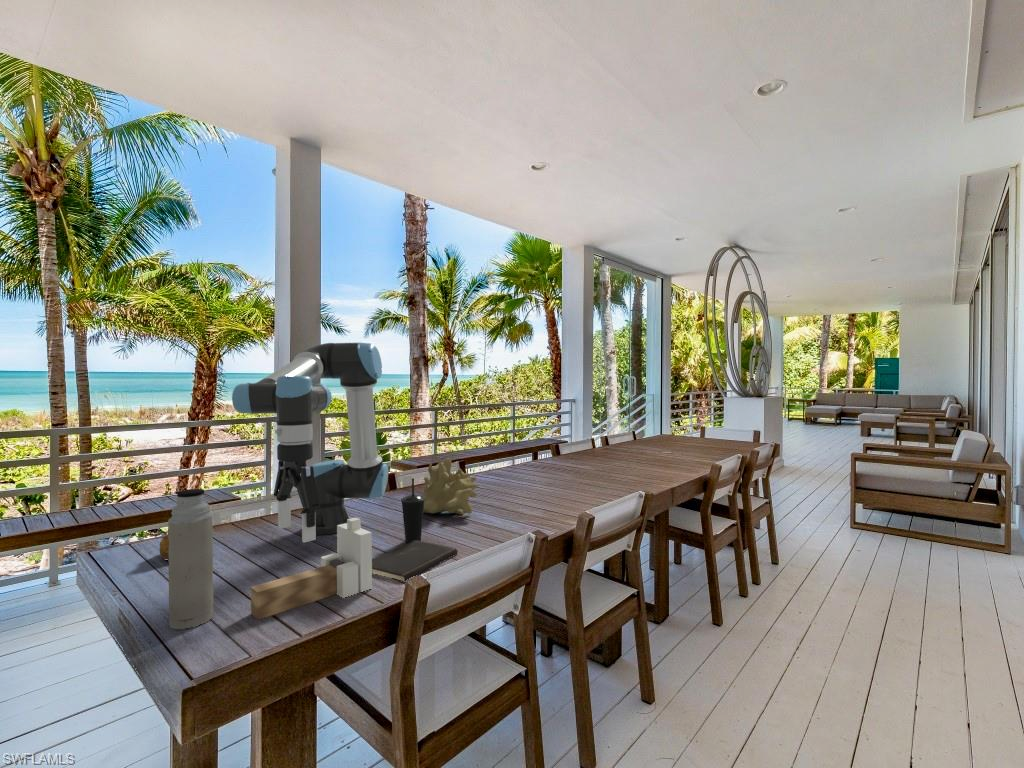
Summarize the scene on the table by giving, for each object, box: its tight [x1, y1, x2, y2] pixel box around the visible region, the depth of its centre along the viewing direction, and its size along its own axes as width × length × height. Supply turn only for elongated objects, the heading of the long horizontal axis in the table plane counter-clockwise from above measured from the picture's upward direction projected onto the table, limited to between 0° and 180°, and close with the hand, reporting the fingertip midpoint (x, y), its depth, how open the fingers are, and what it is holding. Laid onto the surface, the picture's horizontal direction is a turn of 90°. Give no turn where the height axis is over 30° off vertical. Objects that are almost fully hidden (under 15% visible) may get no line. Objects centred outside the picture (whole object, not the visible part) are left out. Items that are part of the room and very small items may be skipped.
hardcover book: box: [372, 540, 458, 581], centre depth 140 cm, size 16×23×2 cm
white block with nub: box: [320, 517, 373, 599], centre depth 123 cm, size 12×8×16 cm, turn 46°
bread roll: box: [159, 534, 169, 560], centre depth 145 cm, size 13×10×8 cm
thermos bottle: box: [167, 488, 214, 630], centre depth 106 cm, size 8×8×28 cm
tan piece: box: [250, 559, 344, 620], centre depth 115 cm, size 20×4×7 cm, turn 136°
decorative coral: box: [421, 457, 479, 516], centre depth 191 cm, size 26×22×25 cm
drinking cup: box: [400, 478, 425, 544], centre depth 158 cm, size 8×8×20 cm
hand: (296, 534), depth 115 cm, fingers open, 13 cm apart
